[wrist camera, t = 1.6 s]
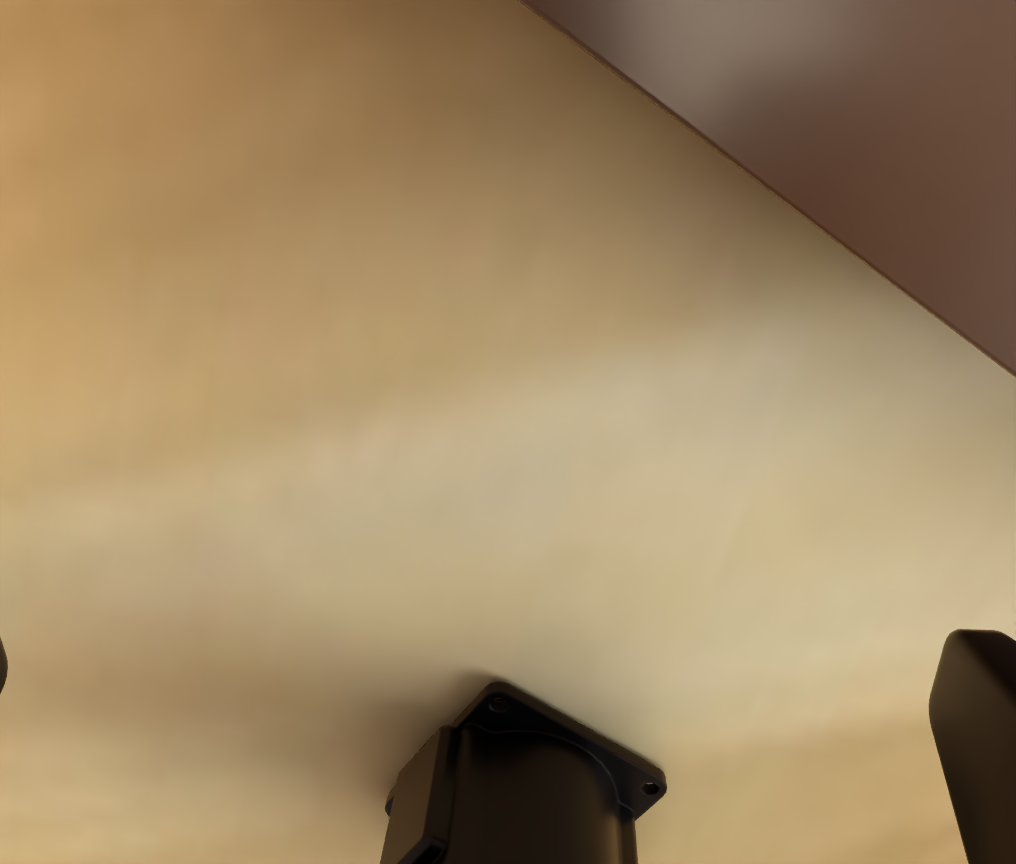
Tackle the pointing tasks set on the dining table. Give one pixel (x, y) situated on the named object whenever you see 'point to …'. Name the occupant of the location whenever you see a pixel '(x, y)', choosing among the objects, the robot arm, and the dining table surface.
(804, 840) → the dining table surface
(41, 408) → the dining table surface
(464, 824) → the robot arm
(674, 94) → the cabinet
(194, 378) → the dining table surface
